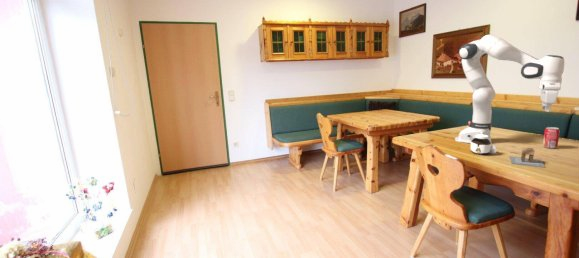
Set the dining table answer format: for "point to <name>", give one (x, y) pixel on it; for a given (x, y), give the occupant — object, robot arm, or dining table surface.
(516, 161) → the pad
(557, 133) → the soda can
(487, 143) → the spread jar
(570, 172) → the dining table surface
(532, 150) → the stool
